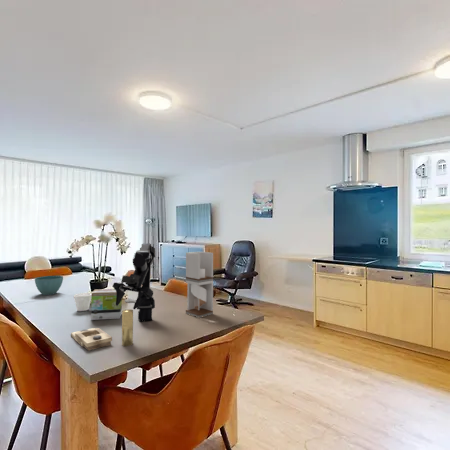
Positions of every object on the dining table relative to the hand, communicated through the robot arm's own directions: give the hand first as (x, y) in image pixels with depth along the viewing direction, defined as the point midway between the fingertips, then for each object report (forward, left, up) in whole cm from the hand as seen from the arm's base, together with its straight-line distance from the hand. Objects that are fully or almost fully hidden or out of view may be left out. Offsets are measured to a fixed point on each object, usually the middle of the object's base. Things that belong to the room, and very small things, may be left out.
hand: (125, 307), depth 132 cm
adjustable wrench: (-12, -63, -15) cm, 66 cm away
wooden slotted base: (+14, -4, -14) cm, 20 cm away
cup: (+20, -58, -14) cm, 63 cm away
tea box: (+7, -38, -14) cm, 41 cm away
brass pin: (-1, +6, -14) cm, 15 cm away
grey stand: (-42, -25, -14) cm, 51 cm away
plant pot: (+46, -116, -14) cm, 126 cm away
